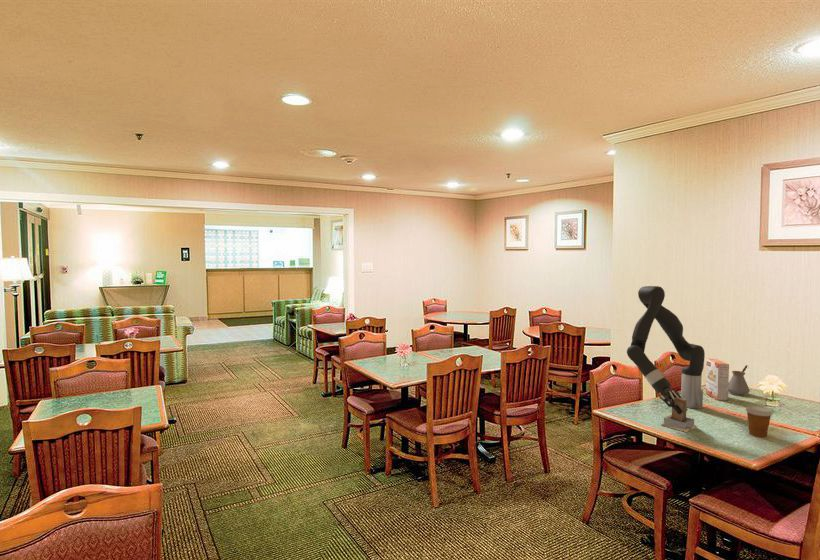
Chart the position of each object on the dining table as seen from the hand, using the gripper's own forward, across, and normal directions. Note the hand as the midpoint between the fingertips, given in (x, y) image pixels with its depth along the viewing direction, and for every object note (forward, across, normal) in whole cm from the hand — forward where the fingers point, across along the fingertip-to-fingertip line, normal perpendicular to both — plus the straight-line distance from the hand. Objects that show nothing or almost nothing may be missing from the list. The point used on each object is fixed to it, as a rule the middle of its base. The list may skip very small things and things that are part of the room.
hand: (683, 412), depth 221 cm
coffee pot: (+1, +93, +9) cm, 93 cm away
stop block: (+2, 0, +4) cm, 5 cm away
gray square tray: (+4, 0, +6) cm, 7 cm away
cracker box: (-2, +69, +13) cm, 70 cm away
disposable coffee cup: (+22, +17, -12) cm, 31 cm away
